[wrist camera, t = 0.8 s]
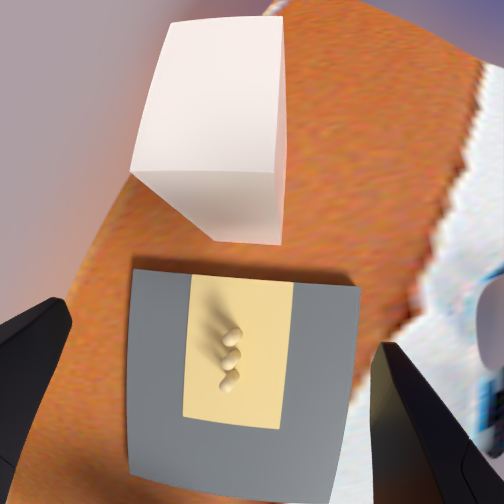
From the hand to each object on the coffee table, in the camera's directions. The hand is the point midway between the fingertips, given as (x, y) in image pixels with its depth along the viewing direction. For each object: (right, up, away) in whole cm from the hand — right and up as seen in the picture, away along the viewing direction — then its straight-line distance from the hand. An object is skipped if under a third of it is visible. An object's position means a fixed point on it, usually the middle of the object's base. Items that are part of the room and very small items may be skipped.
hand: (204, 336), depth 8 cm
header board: (0, -7, +11) cm, 13 cm away
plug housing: (+1, +6, +13) cm, 14 cm away
